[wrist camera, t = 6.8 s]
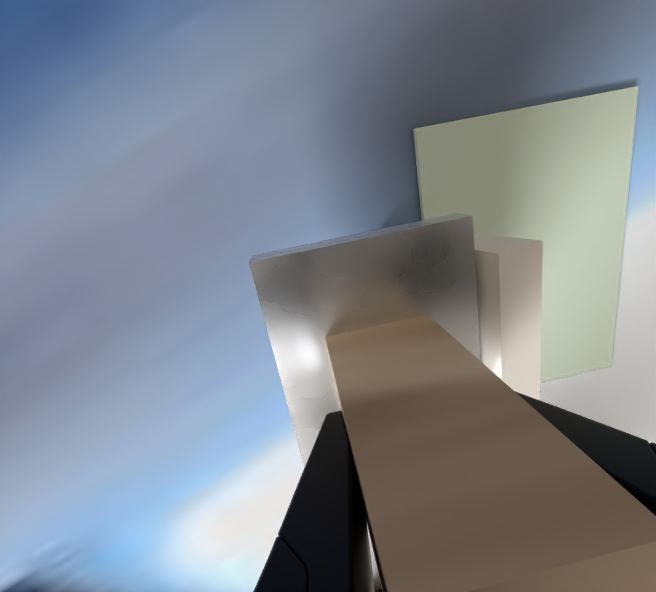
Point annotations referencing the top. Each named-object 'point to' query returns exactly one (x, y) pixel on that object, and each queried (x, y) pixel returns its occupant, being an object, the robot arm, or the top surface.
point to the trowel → (441, 422)
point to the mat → (546, 206)
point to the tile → (510, 309)
